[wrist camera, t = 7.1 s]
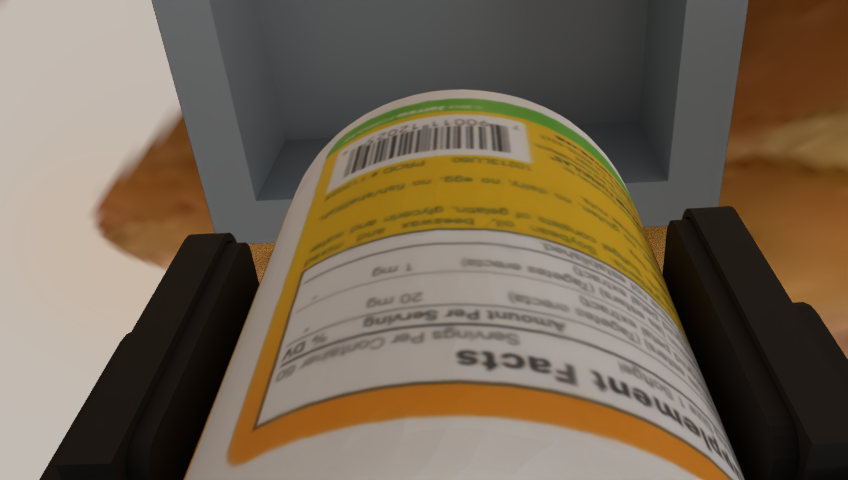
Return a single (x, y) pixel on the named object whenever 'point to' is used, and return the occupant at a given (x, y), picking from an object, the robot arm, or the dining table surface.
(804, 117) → the dining table surface
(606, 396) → the supplement bottle
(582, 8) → the box
